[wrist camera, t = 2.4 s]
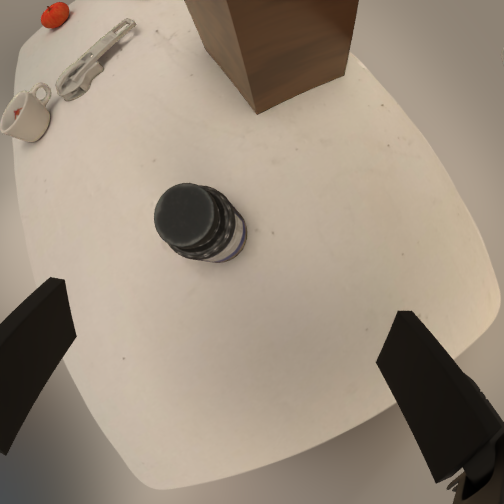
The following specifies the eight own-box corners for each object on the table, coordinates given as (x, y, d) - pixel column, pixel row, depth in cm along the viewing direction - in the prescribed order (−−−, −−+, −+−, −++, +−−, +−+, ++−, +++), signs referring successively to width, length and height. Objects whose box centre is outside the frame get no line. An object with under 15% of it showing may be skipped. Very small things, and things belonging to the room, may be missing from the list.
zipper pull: (148, 34, 35) (138, 19, 31) (71, 108, 36) (56, 97, 32) (128, 25, 36) (118, 12, 32) (58, 92, 37) (45, 82, 33)
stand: (344, 75, 30) (365, -44, 11) (257, 114, 31) (221, -14, 12) (282, 17, 32) (270, -81, 13) (205, 49, 33) (161, -49, 14)
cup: (53, 92, 38) (28, 73, 30) (70, 100, 36) (43, 79, 28) (23, 140, 38) (-5, 126, 30) (37, 153, 36) (6, 138, 28)
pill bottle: (183, 225, 31) (133, 202, 20) (230, 195, 31) (199, 156, 20) (209, 274, 30) (166, 273, 20) (259, 244, 30) (240, 227, 19)
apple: (52, 25, 42) (37, 10, 34) (74, 8, 42) (60, -8, 34) (48, 37, 41) (32, 22, 33) (72, 19, 41) (57, 2, 33)
